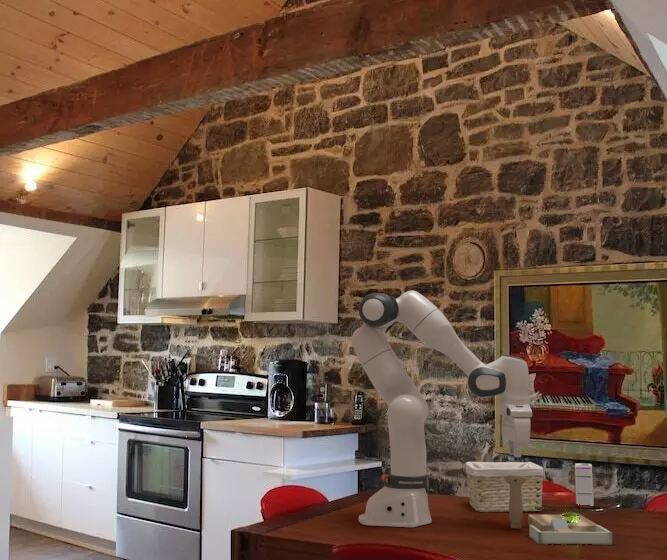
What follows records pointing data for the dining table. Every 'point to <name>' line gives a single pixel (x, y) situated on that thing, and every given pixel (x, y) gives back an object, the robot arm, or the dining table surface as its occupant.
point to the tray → (572, 537)
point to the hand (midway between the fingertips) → (515, 456)
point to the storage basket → (503, 485)
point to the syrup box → (584, 484)
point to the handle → (515, 500)
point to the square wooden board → (545, 520)
